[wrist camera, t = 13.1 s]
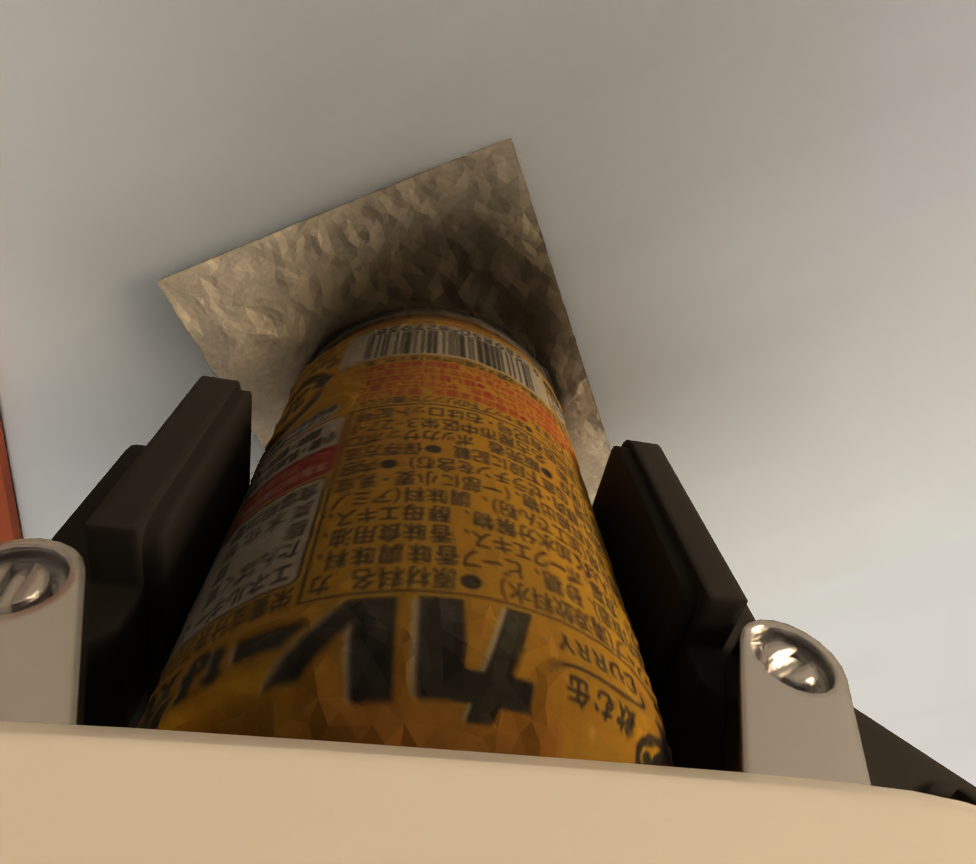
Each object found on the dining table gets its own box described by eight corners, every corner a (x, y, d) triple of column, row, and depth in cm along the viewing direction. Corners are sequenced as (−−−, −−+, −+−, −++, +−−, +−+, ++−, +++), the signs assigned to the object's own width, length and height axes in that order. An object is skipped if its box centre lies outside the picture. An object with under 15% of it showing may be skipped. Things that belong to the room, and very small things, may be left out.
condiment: (352, 579, 17) (201, 1427, 6) (160, 278, 13) (-1167, 1265, 2) (623, 490, 16) (968, 1303, 5) (509, 135, 12) (1022, 667, 1)
